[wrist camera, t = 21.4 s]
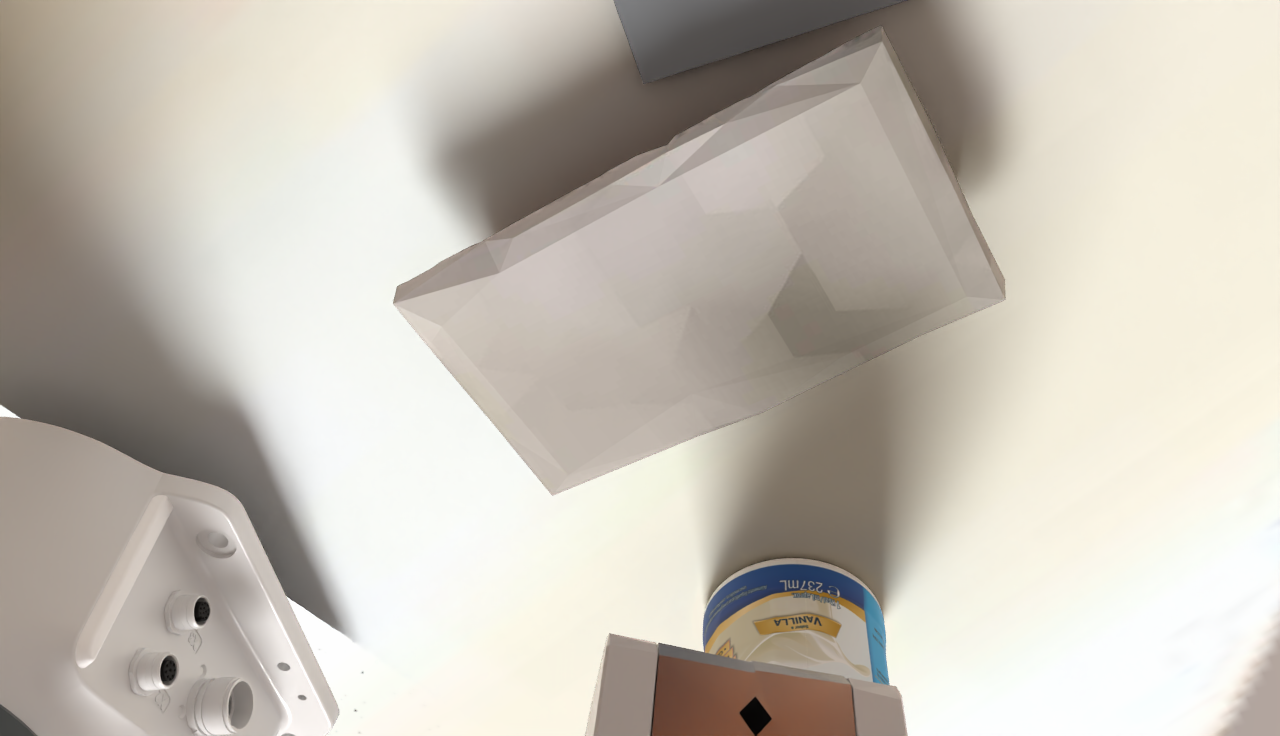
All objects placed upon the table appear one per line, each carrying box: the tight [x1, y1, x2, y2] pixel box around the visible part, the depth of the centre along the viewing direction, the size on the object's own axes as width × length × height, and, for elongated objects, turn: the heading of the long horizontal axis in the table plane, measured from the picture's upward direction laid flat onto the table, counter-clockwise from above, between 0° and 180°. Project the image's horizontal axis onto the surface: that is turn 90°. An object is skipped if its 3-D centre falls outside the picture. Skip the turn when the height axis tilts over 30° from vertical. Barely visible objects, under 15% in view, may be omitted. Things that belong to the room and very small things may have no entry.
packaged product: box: [393, 25, 1005, 496], centre depth 37 cm, size 18×5×10 cm
